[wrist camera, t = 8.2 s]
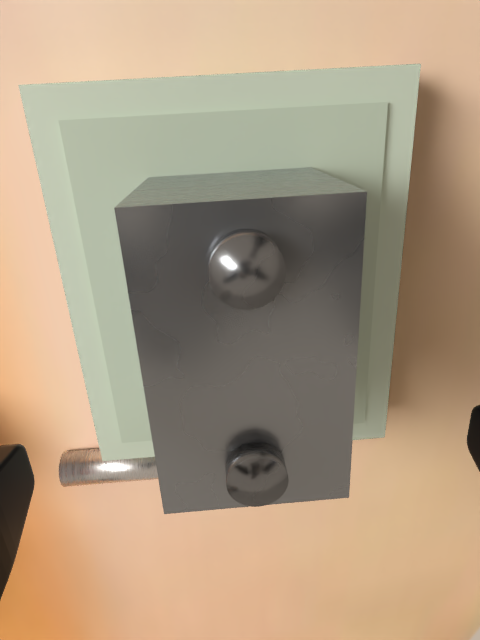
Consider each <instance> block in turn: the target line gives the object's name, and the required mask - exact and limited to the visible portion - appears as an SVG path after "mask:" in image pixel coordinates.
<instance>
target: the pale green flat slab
mask: <svg viewBox="0 0 480 640" xmlns="http://www.w3.org/2000/svg"><path fill="white" fill-rule="evenodd" d="M420 68H421V64H406V65H387V66H369V67H350V68H331V69H312V70H293V71H274V72H255V73H236V74H217V75H198V76H179V77H161V78H142V79H123V80H104V81H85V82H66V83H47V84H28V85H19V89H20V94H21V98H22V103H23V107H24V112H25V116H26V121H27V125H28V130H29V134H30V139H31V143H32V148H33V152H34V156H35V161H36V165H37V170H38V174H39V179H40V183H41V188H42V192H43V197H44V201H45V206H46V210H47V215H48V219H49V224H50V228H51V233H52V237H53V242H54V246H55V251H56V255H57V260H58V264H59V269H60V273H61V278H62V282H63V287H64V291H65V295H66V300H67V304H68V309H69V313H70V318H71V322H72V327H73V331H74V336H75V340H76V345H77V349H78V354H79V358H80V363H81V367H82V372H83V376H84V381H85V385H86V390H87V394H88V399H89V403H90V408H91V412H92V417H93V421H94V426H95V430H96V434H97V439H98V443H99V448H100V452H101V457H102V461H110V460H122V459H133V458H145V457H155V454H154V448H153V442H152V436H151V430H150V424H149V418H148V412H147V405H146V399H145V393H144V387H143V381H142V375H141V369H140V363H139V356H138V350H137V344H136V338H135V332H134V326H133V320H132V314H131V307H130V301H129V295H128V289H127V283H126V277H125V271H124V265H123V258H122V252H121V246H120V240H119V234H118V228H117V222H116V216H115V209H114V207H116V206H117V205H118V204H119V203H120V202H121V201H122V200H123V199H124V198H126V197H127V196H128V195H129V194H130V193H131V192H132V191H133V190H135V189H136V188H137V187H138V186H139V185H140V184H141V183H142V182H143V181H145V180H146V179H147V178H148V177H160V176H176V175H192V174H208V173H224V172H240V171H257V170H273V169H289V168H305V167H312V168H314V169H316V170H319V171H321V172H323V173H326V174H328V175H330V176H333V177H335V178H337V179H340V180H342V181H344V182H346V183H349V184H351V185H353V186H356V187H358V188H360V189H363V190H365V191H367V203H366V220H365V236H364V253H363V270H362V287H361V303H360V320H359V337H358V354H357V370H356V387H355V404H354V420H353V437H352V440H359V439H371V438H383V437H385V430H386V419H387V409H388V399H389V388H390V378H391V368H392V357H393V347H394V337H395V326H396V316H397V306H398V295H399V285H400V274H401V264H402V254H403V243H404V233H405V223H406V212H407V202H408V192H409V181H410V171H411V161H412V150H413V140H414V130H415V119H416V109H417V99H418V88H419V78H420Z"/></svg>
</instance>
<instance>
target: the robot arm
mask: <svg viewBox="0 0 480 640" xmlns="http://www.w3.org/2000/svg"><path fill="white" fill-rule="evenodd" d="M467 445H468V449H469V451H470V454H471V456H472V458H473V460H474V462H475V464H476V465H477V467H478V469H479V471H480V405H478V406H476V407H474V408H473V410H472V413H471V419H470V424H469V430H468V435H467ZM33 490H34V475H33V472H32V468H31V465H30V462H29V458H28V455H27V452H26V449H25V447H24V446H23V445H21V444H13V445H2V446H0V599H1V597H2V594H3V591H4V589H5V586H6V584H7V581H8V578H9V575H10V573H11V570H12V567H13V564H14V561H15V557H16V554H17V550H18V547H19V543H20V539H21V535H22V531H23V528H24V524H25V520H26V516H27V513H28V509H29V505H30V501H31V497H32V494H33Z"/></svg>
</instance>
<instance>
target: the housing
mask: <svg viewBox="0 0 480 640" xmlns="http://www.w3.org/2000/svg"><path fill="white" fill-rule="evenodd" d="M366 203H367V191H365V190H363V189H360V188H358V187H356V186H353V185H351V184H349V183H346V182H344V181H342V180H340V179H337V178H335V177H333V176H330V175H328V174H326V173H323V172H321V171H319V170H316V169H314V168H312V167H305V168H289V169H273V170H257V171H240V172H224V173H208V174H192V175H176V176H160V177H148V178H147V179H146V180H145V181H143V182H142V183H141V184H140V185H139V186H138V187H137V188H136V189H135V190H133V191H132V192H131V193H130V194H129V195H128V196H127V197H126V198H124V199H123V200H122V201H121V202H120V203H119V204H118V205H117V206H116V207H114V209H115V216H116V222H117V228H118V234H119V240H120V246H121V252H122V258H123V265H124V271H125V277H126V283H127V289H128V295H129V301H130V307H131V314H132V320H133V326H134V332H135V338H136V344H137V350H138V356H139V363H140V369H141V375H142V381H143V387H144V393H145V399H146V405H147V412H148V418H149V424H150V430H151V436H152V442H153V448H154V454H155V460H156V467H157V473H158V479H159V485H160V491H161V497H162V503H163V509H164V514H170V513H181V512H192V511H203V510H214V509H226V508H237V507H248V506H254V507H256V506H264V505H270V504H281V503H293V502H304V501H315V500H326V499H337V498H349V487H350V471H351V454H352V437H353V420H354V404H355V387H356V370H357V354H358V337H359V320H360V303H361V287H362V270H363V253H364V236H365V220H366Z"/></svg>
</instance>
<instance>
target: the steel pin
mask: <svg viewBox="0 0 480 640" xmlns="http://www.w3.org/2000/svg"><path fill="white" fill-rule="evenodd" d="M59 478H60V482H61V484H62V486H63V487H66V486H79V485H91V484H103V483H115V482H127V481H140V480H152V479H158V473H157V467H156V460H155V457H145V458H133V459H122V460H110V461H102V457H101V452H100V449H88V450H75V451H65V452H64V453H63V454H62V456H61V459H60V464H59Z"/></svg>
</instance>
